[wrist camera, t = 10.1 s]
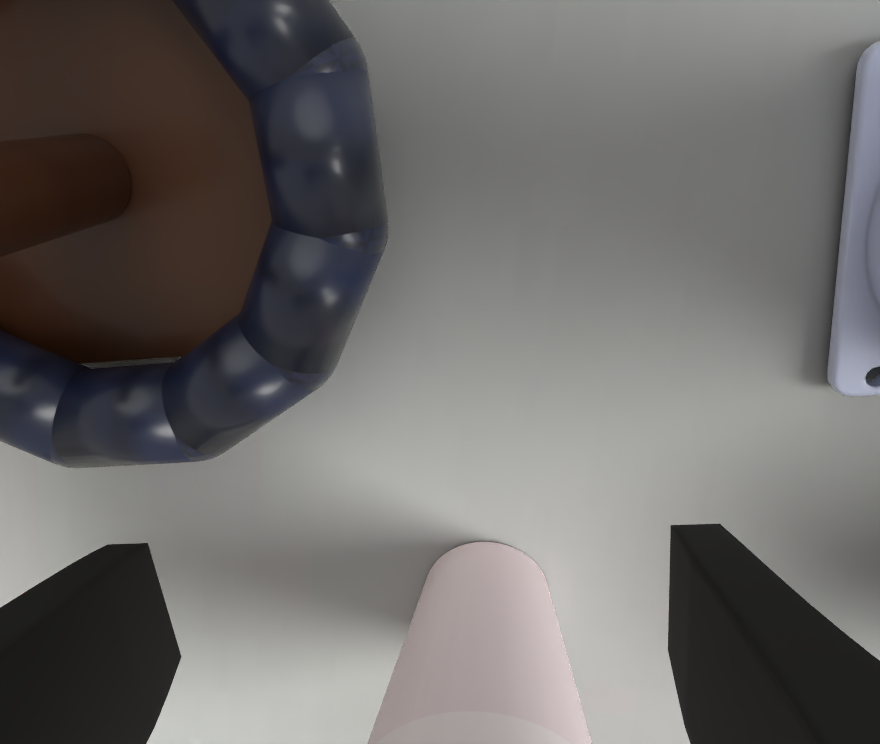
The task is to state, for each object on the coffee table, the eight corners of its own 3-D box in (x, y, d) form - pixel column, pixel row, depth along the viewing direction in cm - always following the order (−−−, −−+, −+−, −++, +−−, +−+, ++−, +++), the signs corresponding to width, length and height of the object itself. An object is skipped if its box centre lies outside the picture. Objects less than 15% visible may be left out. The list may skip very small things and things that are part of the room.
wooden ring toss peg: (255, -63, 15) (83, -169, 9) (324, 332, 18) (233, 455, 12) (-119, -7, 16) (-503, -68, 10) (8, 357, 20) (-223, 481, 13)
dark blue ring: (337, -235, 13) (303, -303, 11) (422, 421, 18) (410, 468, 16) (-293, -124, 15) (-437, -163, 12) (-59, 450, 19) (-132, 497, 17)
